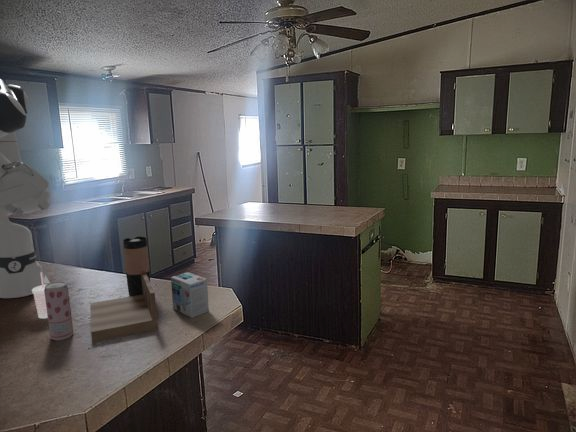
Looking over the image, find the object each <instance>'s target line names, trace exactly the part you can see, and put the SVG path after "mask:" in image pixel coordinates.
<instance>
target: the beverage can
mask: <svg viewBox="0 0 576 432" xmlns="http://www.w3.org/2000/svg"><path fill="white" fill-rule="evenodd" d="M44 288H45V290H44V293H45V300H46V308H47V315H48V318H47V321H48V329H49V338H50V339H51V340H53V341H65V340H66V339H69V338H71V337H72V336H73V334H74V326H73V325H74V324H73V317H72V309H71V303H70V294H69V287H68V285H67V282H65V281H56V282H54V281H53V282H50V284H47V285H46V286H45V287H44Z"/></svg>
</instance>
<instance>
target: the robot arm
mask: <svg viewBox="0 0 576 432" xmlns="http://www.w3.org/2000/svg"><path fill="white" fill-rule="evenodd" d="M29 107H30V101H29V97H28V95H27V92H25V90H24V88H22V87H21V86H20V85H15V84H7V83H6V82H5V81H4V80H3V79H1V78H0V299H15V298H22V297H28V296H31V295H34V294H33V293H32V289H33V288H35V287H37V286H41V285H42V282H41V275H40V272H42V276H43V284H44V285H47V284H50V283H51V282H50V280H49V278H48V277H47V275H46V274H45V273H43V266H41V264H40V263H39V262H38V261H37V260H38V258H37V252H36V250H35V249H34V242H33V236H32V235H33V234H32V231H31V230H30V229H29V227H27V226H26V225H25V226H24V225H23V224H19V223H15V222H12V221H10V218H9V216H14V217H16V218H17V217H21V216H22V215H24V214H31V213H35V212H38V211H44V210H47V209H48V208H49V207H50V201H51V194H50V191H49V188H50V184H49V182H48V180H47V179H46V178H45V177H44V176H43V175H41V174H40V172H38V171H37V170H36V169H35V168H33V167H32V166H30V165H28V164H26V163H24V162H23V161H22V156H21V152H20V147H19V141H18V136H17V132H16V131H19V130H20V129H23V128H24V127H25V124H26V122H27V114H28V111H29Z"/></svg>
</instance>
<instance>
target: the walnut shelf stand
mask: <svg viewBox="0 0 576 432" xmlns="http://www.w3.org/2000/svg"><path fill="white" fill-rule="evenodd" d="M141 277H142V289H143V294H142V295H136V296H130V297H129V296H125V297H120V298H119V297H118V298H112V299H108V300H107V299H106V300H102V301H96V302H90V303H89V305H90V306H89V308H90V334H91V342H92V343H96V342H101V341H107V340H112V339H117V338H121V337H125V336H131V335H135V334H140V333H146V332H149V331H157V330H158V329H159V328H158V317H157V306H156V305H157V302H156V294H155V290H154V287H153V286H152V283H151V280H150V281H149V279H148V277H147V274H146V272H145V271H141Z"/></svg>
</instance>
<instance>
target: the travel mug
mask: <svg viewBox="0 0 576 432" xmlns="http://www.w3.org/2000/svg"><path fill="white" fill-rule="evenodd" d="M122 242H123V251H124V252H123V254H124V265H125V276H126V282H127V289H128V290H127V292H128V297H130V296H136V295H142V294H143V289H142V277H141V271H145V272H146V274H147V277H148V279H149V281H150V282H151V276H150V275H151V271H150V262H149V261H150V260H149V250H148V240H147V237H146V236H136V237H134V238H130V237H128V238H127V237H126V238H125V239H123V240H122Z"/></svg>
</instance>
